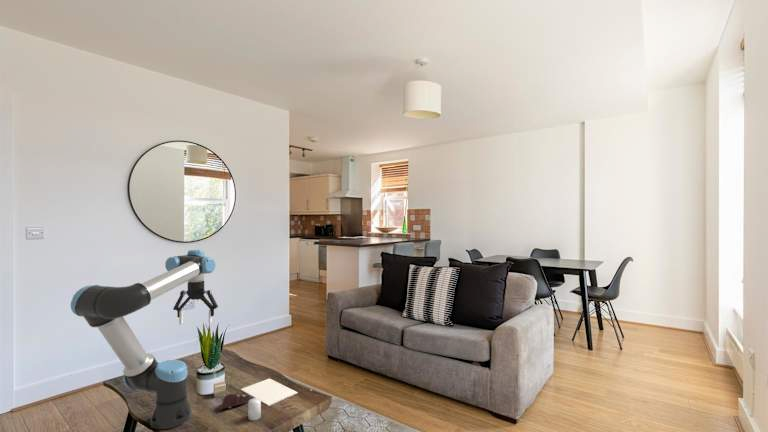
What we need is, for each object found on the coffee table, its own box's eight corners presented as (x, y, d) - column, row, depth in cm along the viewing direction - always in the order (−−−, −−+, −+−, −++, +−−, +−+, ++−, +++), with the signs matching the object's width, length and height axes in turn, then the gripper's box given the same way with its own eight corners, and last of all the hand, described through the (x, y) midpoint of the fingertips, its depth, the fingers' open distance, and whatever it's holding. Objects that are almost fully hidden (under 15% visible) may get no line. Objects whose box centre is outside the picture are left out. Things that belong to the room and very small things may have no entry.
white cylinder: (258, 420, 157) (257, 404, 157) (246, 420, 158) (246, 403, 158) (262, 414, 162) (262, 398, 162) (251, 413, 163) (251, 397, 163)
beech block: (225, 395, 180) (226, 385, 180) (214, 397, 177) (214, 387, 177) (224, 391, 184) (224, 381, 184) (213, 393, 182) (213, 383, 182)
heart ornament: (219, 415, 166) (225, 393, 175) (247, 416, 168) (252, 394, 178) (219, 406, 163) (225, 384, 172) (248, 407, 165) (252, 385, 174)
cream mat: (297, 393, 182) (297, 392, 182) (268, 406, 169) (268, 405, 169) (269, 379, 197) (269, 378, 197) (240, 390, 185) (240, 389, 185)
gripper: (224, 278, 194) (224, 320, 194) (172, 280, 190) (172, 322, 190) (220, 281, 186) (220, 324, 186) (165, 282, 183) (165, 326, 183)
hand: (195, 323), depth 188 cm, fingers open, 13 cm apart
